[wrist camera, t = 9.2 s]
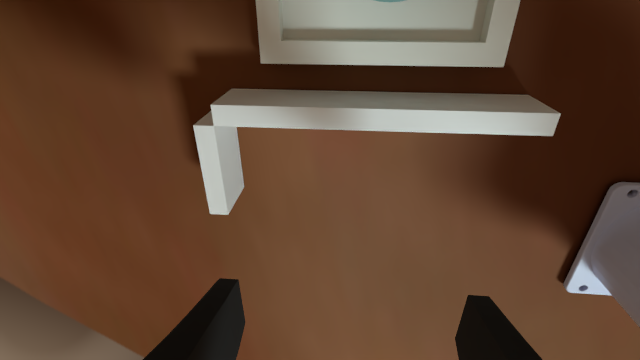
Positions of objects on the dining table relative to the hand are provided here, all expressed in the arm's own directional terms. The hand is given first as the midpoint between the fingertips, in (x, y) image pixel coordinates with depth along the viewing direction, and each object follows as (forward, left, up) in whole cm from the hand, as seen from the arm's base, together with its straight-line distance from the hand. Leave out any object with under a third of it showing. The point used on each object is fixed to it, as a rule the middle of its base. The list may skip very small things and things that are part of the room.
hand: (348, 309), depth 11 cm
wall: (-1, -2, -10) cm, 10 cm away
